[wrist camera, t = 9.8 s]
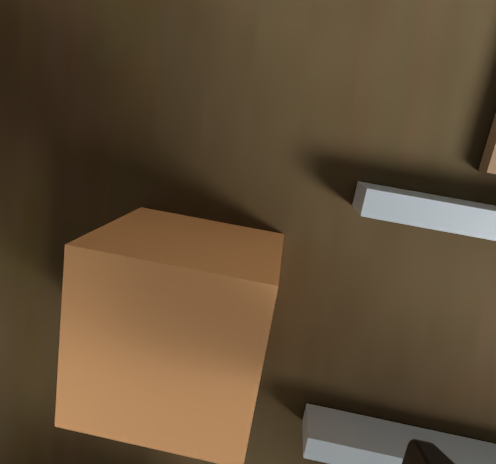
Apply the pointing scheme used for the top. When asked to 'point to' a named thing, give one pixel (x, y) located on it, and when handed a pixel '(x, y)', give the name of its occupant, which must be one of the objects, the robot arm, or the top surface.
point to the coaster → (489, 152)
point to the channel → (377, 430)
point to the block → (166, 332)
